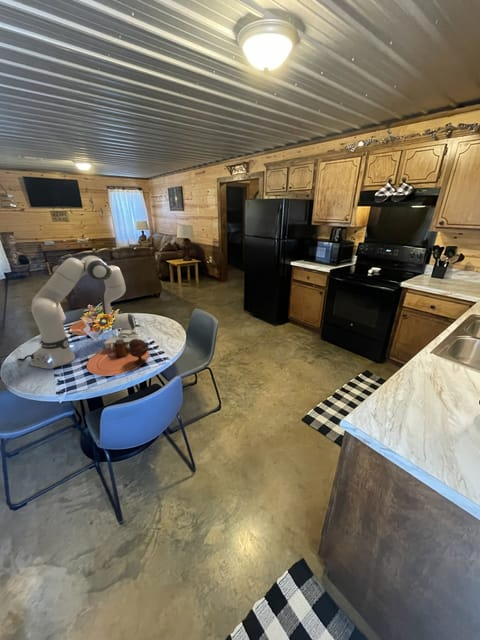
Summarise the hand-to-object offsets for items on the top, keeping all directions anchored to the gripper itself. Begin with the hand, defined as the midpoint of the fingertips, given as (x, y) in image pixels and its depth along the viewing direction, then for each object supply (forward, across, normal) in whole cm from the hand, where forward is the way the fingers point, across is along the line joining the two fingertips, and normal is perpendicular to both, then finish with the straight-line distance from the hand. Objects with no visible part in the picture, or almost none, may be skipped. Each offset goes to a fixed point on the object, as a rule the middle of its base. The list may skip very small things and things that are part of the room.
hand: (119, 348), depth 156 cm
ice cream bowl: (+10, +13, +5) cm, 17 cm away
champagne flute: (-35, -45, +5) cm, 57 cm away
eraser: (-1, 0, +5) cm, 5 cm away
